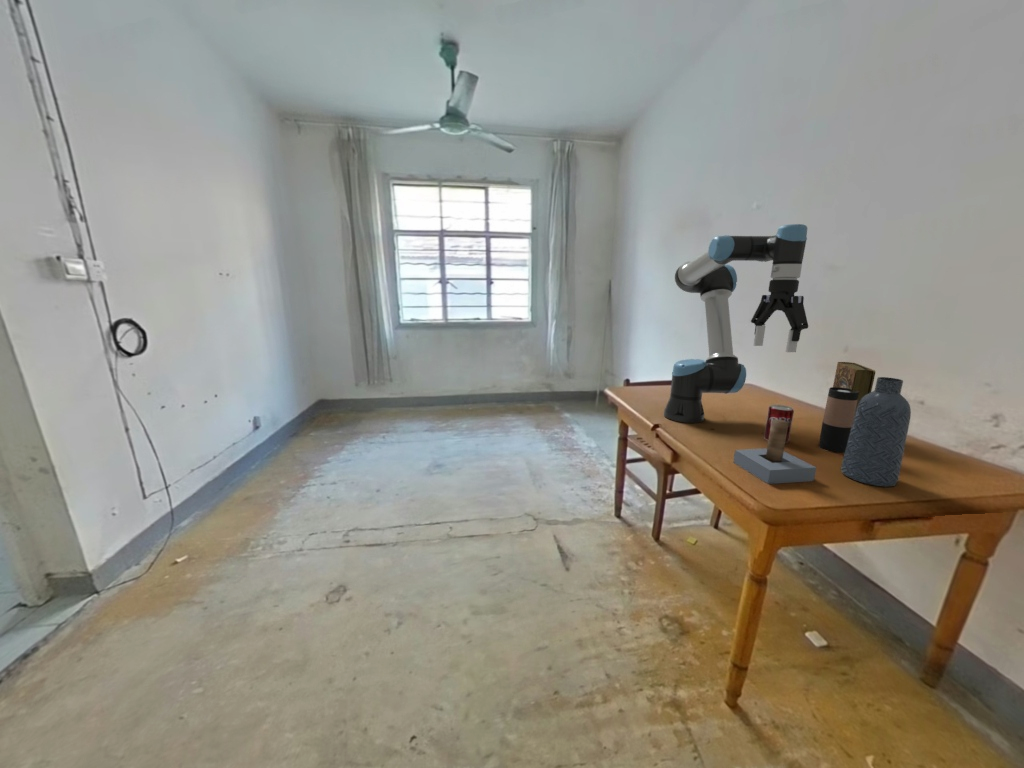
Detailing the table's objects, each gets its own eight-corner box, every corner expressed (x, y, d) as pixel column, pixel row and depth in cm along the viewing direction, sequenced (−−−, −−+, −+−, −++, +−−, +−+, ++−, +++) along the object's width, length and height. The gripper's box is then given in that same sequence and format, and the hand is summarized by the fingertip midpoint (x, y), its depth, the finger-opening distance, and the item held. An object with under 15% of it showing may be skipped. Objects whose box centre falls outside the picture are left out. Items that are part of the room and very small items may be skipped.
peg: (760, 468, 120) (768, 419, 116) (772, 467, 120) (780, 419, 117) (770, 474, 116) (779, 424, 113) (783, 473, 117) (792, 423, 113)
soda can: (792, 445, 138) (798, 411, 135) (768, 443, 139) (774, 409, 137) (782, 437, 145) (788, 405, 142) (760, 436, 146) (765, 403, 144)
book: (823, 425, 159) (836, 361, 153) (840, 426, 157) (854, 362, 151) (841, 439, 144) (856, 369, 138) (860, 441, 142) (876, 370, 136)
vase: (908, 484, 111) (934, 383, 104) (876, 490, 108) (901, 385, 101) (859, 466, 122) (880, 373, 116) (829, 470, 119) (849, 375, 112)
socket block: (733, 462, 124) (735, 449, 123) (775, 460, 126) (777, 447, 125) (767, 483, 110) (770, 470, 110) (813, 480, 112) (816, 467, 112)
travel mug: (816, 448, 135) (827, 389, 131) (819, 442, 141) (830, 385, 136) (845, 455, 130) (858, 394, 126) (847, 448, 136) (860, 389, 131)
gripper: (744, 279, 136) (736, 343, 141) (808, 278, 112) (794, 355, 117) (765, 279, 137) (756, 343, 142) (832, 278, 113) (818, 354, 118)
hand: (773, 348), depth 129 cm, fingers open, 13 cm apart
